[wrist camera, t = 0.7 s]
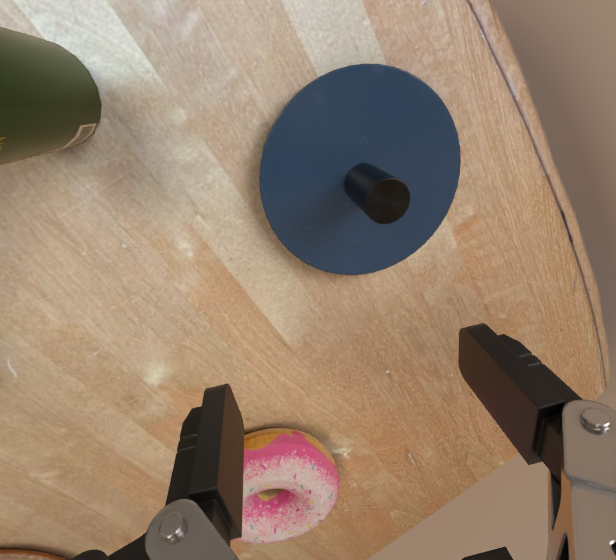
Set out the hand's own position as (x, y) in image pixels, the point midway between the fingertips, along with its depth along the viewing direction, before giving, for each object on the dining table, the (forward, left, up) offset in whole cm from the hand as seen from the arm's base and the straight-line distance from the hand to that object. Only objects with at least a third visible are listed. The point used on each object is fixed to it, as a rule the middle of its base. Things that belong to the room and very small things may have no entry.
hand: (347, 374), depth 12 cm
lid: (0, +5, -15) cm, 16 cm away
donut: (+20, -17, -16) cm, 30 cm away
